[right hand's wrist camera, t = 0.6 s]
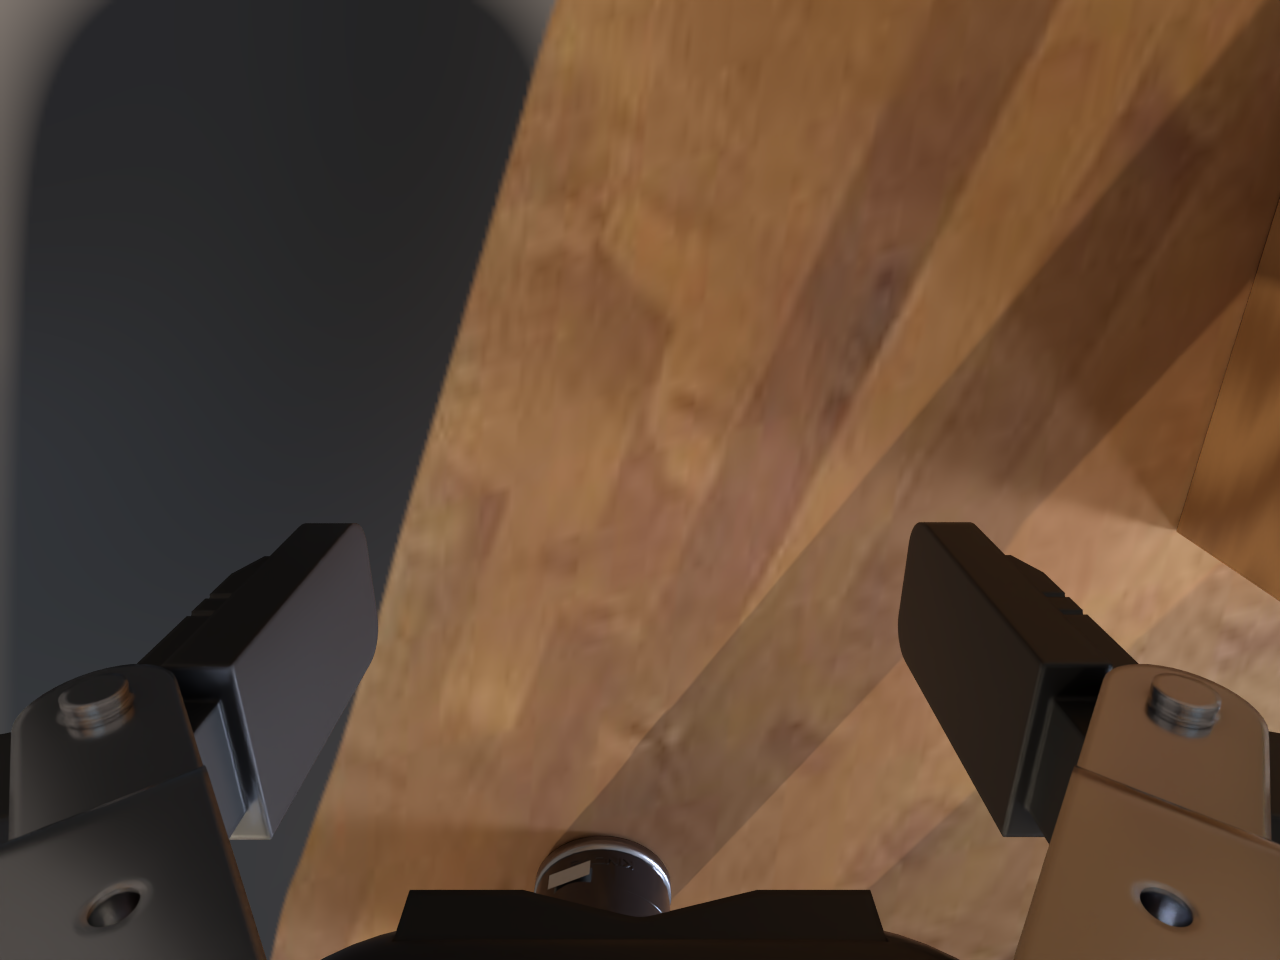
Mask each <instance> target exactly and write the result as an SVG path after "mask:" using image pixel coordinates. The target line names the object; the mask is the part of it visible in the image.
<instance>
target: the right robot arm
mask: <svg viewBox="0 0 1280 960" xmlns="http://www.w3.org/2000/svg"><path fill="white" fill-rule="evenodd" d="M898 635H899V643H900V648H901V652H902V655H903V658H904V660H905V662H906V664H907V665H908V667H909V669H910V671H911V673H912V674H913V676H914V678H915V680H916V682H917V683H918V685H919V687H920V689H921V691H922V692H923V694H924V696H925V698H926V699H927V701H928V703H929V705H930V707H931V708H932V710H933V712H934V714H935V716H936V717H937V719H938V721H939V723H940V725H941V726H942V728H943V730H944V732H945V734H946V735H947V737H948V739H949V741H950V743H951V744H952V746H953V748H954V750H955V752H956V753H957V755H958V757H959V759H960V761H961V762H962V764H963V766H964V768H965V769H966V771H967V773H968V775H969V777H970V778H971V780H972V782H973V784H974V786H975V787H976V789H977V791H978V793H979V795H980V796H981V798H982V800H983V802H984V804H985V805H986V807H987V809H988V811H989V813H990V814H991V816H992V818H993V820H994V822H995V823H996V825H997V827H998V829H999V830H1000V832H1001V834H1002V836H1003V837H1045V838H1046V840H1047V841H1048V843H1049V848H1048V851H1047V854H1046V857H1045V860H1044V864H1043V867H1042V870H1041V873H1040V876H1039V880H1038V883H1037V886H1036V889H1035V892H1034V895H1033V899H1032V902H1031V905H1030V908H1029V911H1028V915H1027V918H1026V921H1025V924H1024V927H1023V931H1022V934H1021V937H1020V940H1019V943H1018V947H1017V950H1016V953H1015V956H1014V959H1013V960H1280V733H1275V732H1270V731H1268V726H1267V724H1266V722H1265V720H1264V718H1263V717H1262V716H1261V715H1260V713H1259V712H1258V711H1257V710H1256V709H1255V708H1254V707H1253V706H1252V705H1250V704H1249V703H1248V702H1247V701H1245V700H1244V699H1243V698H1241V697H1240V696H1238V695H1237V694H1235V693H1234V692H1232V691H1230V690H1229V689H1227V688H1225V687H1223V686H1221V685H1219V684H1217V683H1215V682H1213V681H1210V680H1208V679H1206V678H1203V677H1201V676H1198V675H1195V674H1192V673H1189V672H1186V671H1182V670H1178V669H1175V668H1170V667H1165V666H1159V665H1150V664H1138V663H1137V662H1136V661H1135V660H1134V659H1133V658H1132V657H1131V656H1130V655H1129V654H1128V653H1127V652H1126V651H1125V650H1124V649H1123V648H1122V647H1121V646H1120V645H1118V644H1117V643H1116V642H1115V641H1114V640H1113V639H1112V638H1111V637H1110V636H1109V635H1108V634H1107V633H1106V632H1105V631H1104V630H1103V629H1102V628H1101V627H1100V626H1099V625H1098V624H1097V623H1096V622H1095V621H1093V620H1092V619H1091V618H1090V617H1089V616H1088V615H1083V610H1082V609H1081V608H1080V607H1079V606H1078V605H1077V604H1076V603H1075V602H1074V601H1073V600H1072V599H1071V598H1069V597H1065V593H1064V592H1063V591H1062V590H1061V589H1060V588H1059V587H1058V586H1057V585H1056V584H1055V583H1054V582H1053V581H1052V580H1051V579H1050V578H1049V577H1048V576H1047V575H1046V574H1044V573H1043V572H1041V571H1040V570H1038V569H1036V568H1034V567H1032V566H1030V565H1028V564H1026V563H1025V562H1023V561H1021V560H1019V559H1017V558H1015V557H1013V556H1011V555H1005V554H1004V553H1003V552H1002V551H1001V550H1000V549H999V548H998V547H997V546H996V545H995V544H994V543H993V542H992V541H991V540H990V539H989V538H988V537H987V536H986V535H985V534H984V533H983V532H982V531H981V530H980V529H979V528H978V527H977V526H976V525H975V524H973V523H971V522H919V523H917V524H916V525H915V526H914V528H913V530H912V532H911V536H910V540H909V547H908V554H907V561H906V568H905V575H904V582H903V589H902V596H901V602H900V609H899V617H898ZM377 637H378V618H377V610H376V604H375V597H374V590H373V583H372V576H371V570H370V563H369V556H368V549H367V542H366V538H365V534H364V532H363V529H362V528H361V526H360V525H359V524H357V523H305V524H302V525H301V526H300V527H299V528H298V529H297V530H296V531H295V532H294V533H293V534H292V535H291V536H290V537H289V538H288V539H287V540H286V541H285V542H284V543H283V544H282V545H281V546H280V547H279V548H278V549H277V550H276V551H275V552H274V553H273V554H272V555H271V556H264V557H262V558H260V559H259V560H257V561H255V562H253V563H251V564H249V565H247V566H245V567H244V568H242V569H240V570H238V571H236V572H234V573H232V574H231V575H230V576H229V577H228V578H227V579H226V580H225V581H223V582H222V583H221V584H220V585H219V586H218V587H217V588H216V589H215V590H214V591H213V592H212V593H211V594H210V598H209V599H205V600H204V601H202V602H201V603H200V604H199V605H198V606H197V607H196V608H195V609H194V610H193V611H192V615H191V616H187V617H186V618H185V619H183V620H182V621H181V622H180V623H179V624H178V625H177V626H176V627H175V628H174V629H173V630H172V631H171V632H170V633H169V634H168V635H167V636H166V637H165V638H163V639H162V640H161V641H160V642H159V643H158V644H157V645H156V646H155V647H154V648H153V649H152V650H151V651H150V652H149V653H148V654H147V655H146V656H145V657H144V658H142V659H141V660H140V661H139V662H138V663H137V664H130V665H121V666H115V667H110V668H106V669H102V670H98V671H94V672H91V673H88V674H85V675H82V676H79V677H77V678H75V679H72V680H70V681H67V682H65V683H63V684H61V685H59V686H57V687H55V688H53V689H52V690H50V691H48V692H46V693H45V694H43V695H42V696H40V697H39V698H37V699H36V700H35V701H33V702H32V703H31V704H30V705H29V706H27V707H26V708H25V709H24V710H23V711H22V712H21V713H20V715H19V716H18V717H17V718H16V720H15V722H14V724H13V726H12V731H11V732H10V733H6V734H0V960H267V959H266V956H265V953H264V950H263V947H262V944H261V940H260V937H259V934H258V931H257V927H256V924H255V921H254V918H253V915H252V911H251V908H250V905H249V902H248V899H247V896H246V892H245V889H244V886H243V883H242V880H241V876H240V873H239V870H238V867H237V864H236V860H235V857H234V854H233V851H232V848H231V844H230V841H229V840H271V838H272V837H273V835H274V833H275V831H276V830H277V828H278V826H279V824H280V823H281V821H282V819H283V817H284V815H285V814H286V812H287V810H288V808H289V807H290V805H291V803H292V801H293V799H294V798H295V796H296V794H297V793H298V791H299V789H300V787H301V785H302V784H303V782H304V780H305V778H306V777H307V775H308V773H309V771H310V769H311V768H312V766H313V764H314V762H315V761H316V759H317V757H318V755H319V753H320V752H321V750H322V748H323V746H324V745H325V743H326V741H327V739H328V738H329V736H330V734H331V732H332V730H333V729H334V727H335V725H336V723H337V722H338V720H339V718H340V716H341V714H342V713H343V711H344V709H345V707H346V706H347V704H348V702H349V700H350V699H351V697H352V695H353V693H354V691H355V690H356V688H357V686H358V684H359V683H360V681H361V679H362V677H363V676H364V674H365V672H366V670H367V668H368V667H369V665H370V663H371V661H372V659H373V656H374V653H375V649H376V644H377ZM670 903H671V888H670V878H669V874H668V872H667V869H666V867H665V866H664V864H663V863H662V861H661V860H660V859H659V858H658V857H657V856H656V855H655V854H654V853H653V852H651V851H650V850H648V849H647V848H645V847H643V846H642V845H640V844H637V843H635V842H632V841H630V840H626V839H622V838H617V837H610V836H594V837H586V838H581V839H577V840H574V841H571V842H569V843H567V844H564V845H562V846H561V847H559V848H557V849H556V850H554V851H553V852H552V853H551V854H550V855H549V856H548V857H547V858H546V859H545V860H544V861H543V863H542V864H541V866H540V868H539V870H538V873H537V877H536V883H535V890H534V893H533V892H529V891H525V890H410V891H409V894H408V897H407V900H406V903H405V906H404V909H403V912H402V915H401V919H400V922H399V925H398V928H397V931H394V932H390V933H387V934H383V935H379V936H376V937H374V938H371V939H368V940H365V941H362V942H359V943H356V944H354V945H351V946H349V947H347V948H345V949H342V950H340V951H338V952H336V953H334V954H332V955H329V956H327V957H325V958H323V959H321V960H959V959H957V958H955V957H953V956H951V955H948V954H946V953H944V952H942V951H940V950H938V949H935V948H933V947H931V946H929V945H926V944H924V943H921V942H918V941H915V940H912V939H909V938H906V937H904V936H901V935H897V934H893V933H890V932H886V931H883V928H882V925H881V922H880V919H879V915H878V912H877V909H876V906H875V903H874V900H873V897H872V894H871V891H870V890H755V891H751V892H747V893H743V894H739V895H734V896H730V897H726V898H722V899H718V900H714V901H710V902H706V903H701V904H697V905H693V906H689V907H685V908H681V909H677V910H673V911H670Z"/></svg>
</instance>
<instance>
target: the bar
mask: <svg viewBox="0 0 1280 960" xmlns="http://www.w3.org/2000/svg"><path fill="white" fill-rule="evenodd" d="M1177 532H1178V533H1179V534H1181V535H1182V536H1184V537H1185V538H1187V539H1188V540H1190V541H1191V542H1193V543H1194V544H1196V545H1197V546H1199V547H1200V548H1202V549H1203V550H1205V551H1206V552H1207V553H1209V554H1210V555H1212V556H1213V557H1215V558H1216V559H1218V560H1219V561H1221V562H1222V563H1224V564H1225V565H1227V566H1228V567H1230V568H1231V569H1233V570H1234V571H1236V572H1237V573H1239V574H1240V575H1242V576H1243V577H1245V578H1246V579H1248V580H1249V581H1251V582H1252V583H1253V584H1255V585H1256V586H1258V587H1259V588H1261V589H1262V590H1264V591H1265V592H1267V593H1268V594H1270V595H1271V596H1273V597H1274V598H1276V599H1277V600H1279V601H1280V199H1279V202H1278V206H1277V209H1276V212H1275V215H1274V218H1273V222H1272V225H1271V228H1270V231H1269V235H1268V238H1267V241H1266V244H1265V247H1264V251H1263V254H1262V257H1261V260H1260V264H1259V267H1258V270H1257V273H1256V276H1255V280H1254V283H1253V286H1252V289H1251V293H1250V296H1249V299H1248V302H1247V305H1246V309H1245V312H1244V315H1243V318H1242V321H1241V325H1240V328H1239V331H1238V334H1237V338H1236V341H1235V344H1234V347H1233V350H1232V354H1231V357H1230V360H1229V363H1228V367H1227V370H1226V373H1225V376H1224V379H1223V383H1222V386H1221V389H1220V392H1219V396H1218V399H1217V402H1216V405H1215V408H1214V412H1213V415H1212V418H1211V421H1210V425H1209V428H1208V431H1207V434H1206V437H1205V441H1204V444H1203V447H1202V450H1201V453H1200V457H1199V460H1198V463H1197V466H1196V470H1195V473H1194V476H1193V479H1192V482H1191V486H1190V489H1189V492H1188V495H1187V499H1186V502H1185V505H1184V508H1183V511H1182V515H1181V518H1180V521H1179V524H1178V528H1177Z"/></svg>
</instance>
